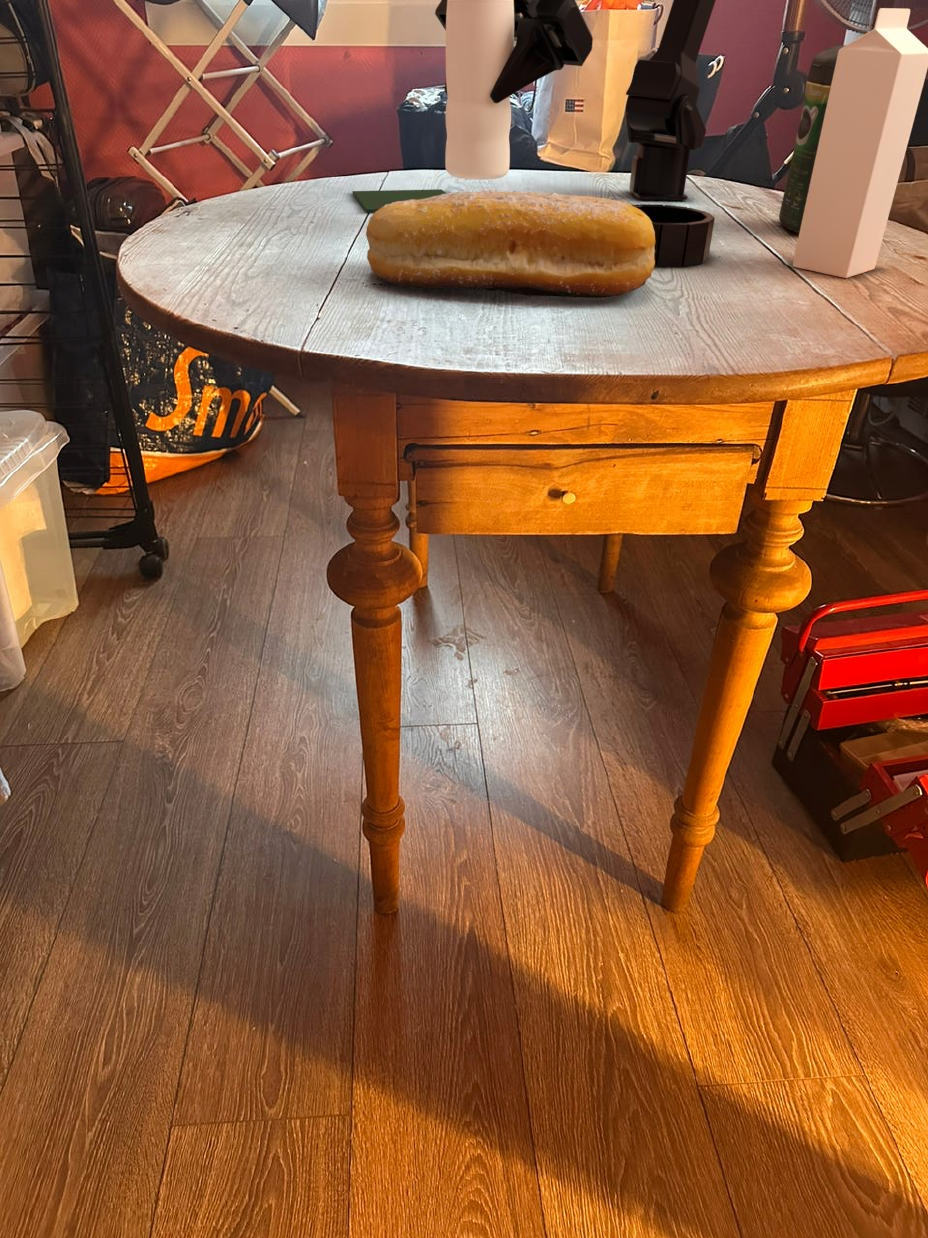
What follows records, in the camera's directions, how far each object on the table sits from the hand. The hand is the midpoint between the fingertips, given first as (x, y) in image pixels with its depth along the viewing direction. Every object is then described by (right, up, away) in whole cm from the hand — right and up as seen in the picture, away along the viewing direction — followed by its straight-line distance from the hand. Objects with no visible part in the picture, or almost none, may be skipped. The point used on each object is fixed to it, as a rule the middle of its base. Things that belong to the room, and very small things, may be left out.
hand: (469, 96), depth 97 cm
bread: (+3, -24, -11) cm, 26 cm away
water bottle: (+1, -6, +5) cm, 8 cm away
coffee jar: (+41, -9, +12) cm, 44 cm away
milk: (+37, -19, -3) cm, 42 cm away
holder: (+20, -17, 0) cm, 26 cm away
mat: (-8, -2, +20) cm, 22 cm away
